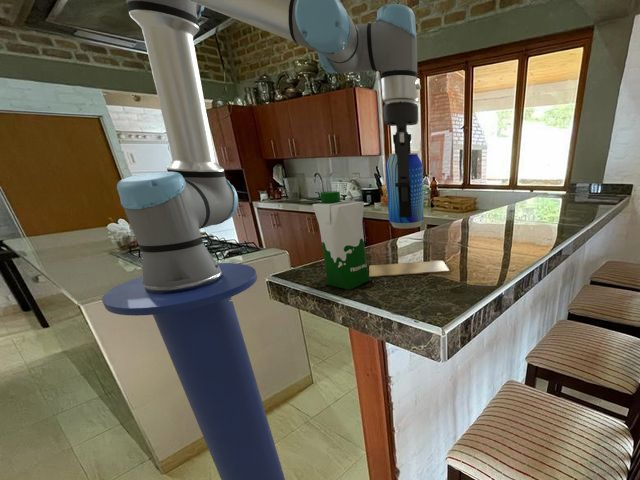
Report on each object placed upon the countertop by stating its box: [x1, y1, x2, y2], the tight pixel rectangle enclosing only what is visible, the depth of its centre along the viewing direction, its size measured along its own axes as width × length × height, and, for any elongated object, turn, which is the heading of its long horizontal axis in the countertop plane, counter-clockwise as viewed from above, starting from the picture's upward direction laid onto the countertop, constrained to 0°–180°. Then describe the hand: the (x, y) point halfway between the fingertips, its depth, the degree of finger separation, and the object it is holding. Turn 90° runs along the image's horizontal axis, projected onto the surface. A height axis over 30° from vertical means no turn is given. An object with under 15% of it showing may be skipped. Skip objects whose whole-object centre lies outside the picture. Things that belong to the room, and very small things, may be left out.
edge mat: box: [368, 260, 450, 278], centre depth 87 cm, size 20×9×1 cm, turn 98°
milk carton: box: [312, 190, 370, 290], centre depth 74 cm, size 9×9×20 cm
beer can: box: [385, 152, 425, 229], centre depth 78 cm, size 8×8×16 cm
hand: (405, 213), depth 81 cm, fingers closed on beer can, 8 cm apart
